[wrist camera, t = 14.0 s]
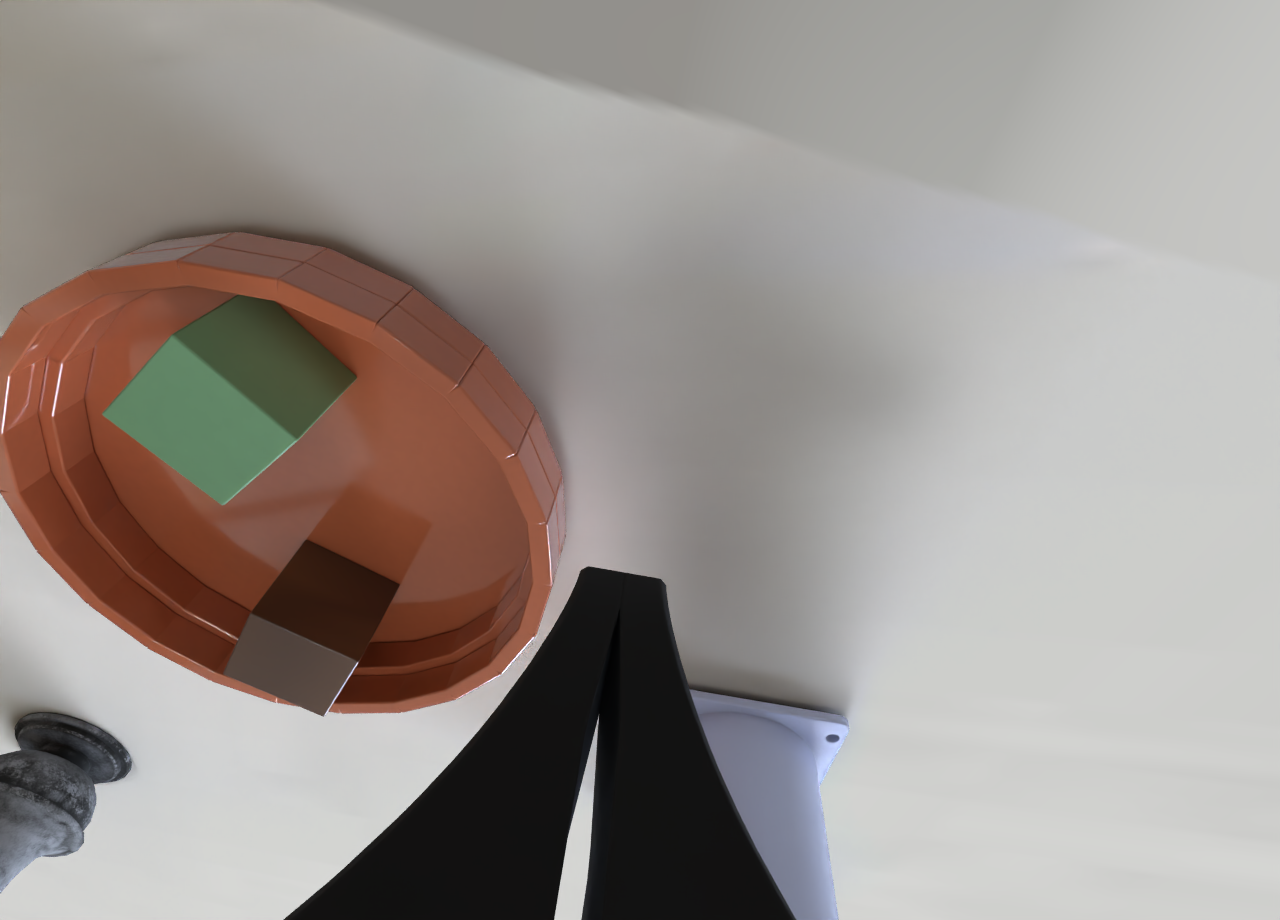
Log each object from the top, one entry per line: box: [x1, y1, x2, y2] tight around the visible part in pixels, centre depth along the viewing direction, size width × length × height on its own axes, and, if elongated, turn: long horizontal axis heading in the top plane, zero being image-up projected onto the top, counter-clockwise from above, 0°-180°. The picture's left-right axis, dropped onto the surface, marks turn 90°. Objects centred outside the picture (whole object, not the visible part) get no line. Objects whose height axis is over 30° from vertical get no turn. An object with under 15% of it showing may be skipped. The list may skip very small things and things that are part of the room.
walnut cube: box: [223, 540, 400, 716], centre depth 23 cm, size 4×4×4 cm
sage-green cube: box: [102, 295, 357, 505], centre depth 18 cm, size 4×4×4 cm
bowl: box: [0, 232, 566, 714], centre depth 21 cm, size 16×16×3 cm
